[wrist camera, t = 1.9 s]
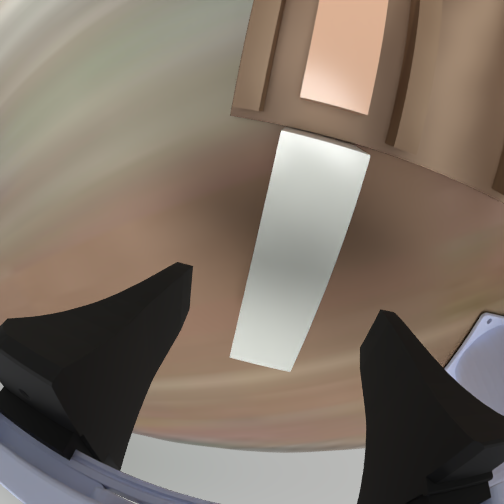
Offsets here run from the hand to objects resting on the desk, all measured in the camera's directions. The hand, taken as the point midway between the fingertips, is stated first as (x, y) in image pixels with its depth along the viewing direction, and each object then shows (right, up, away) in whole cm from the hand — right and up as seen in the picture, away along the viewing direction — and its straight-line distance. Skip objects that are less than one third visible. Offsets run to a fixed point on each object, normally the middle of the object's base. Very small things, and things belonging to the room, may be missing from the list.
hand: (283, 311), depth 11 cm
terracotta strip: (+4, +14, 0) cm, 14 cm away
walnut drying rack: (+7, +14, 0) cm, 15 cm away
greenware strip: (+1, +3, +7) cm, 8 cm away
